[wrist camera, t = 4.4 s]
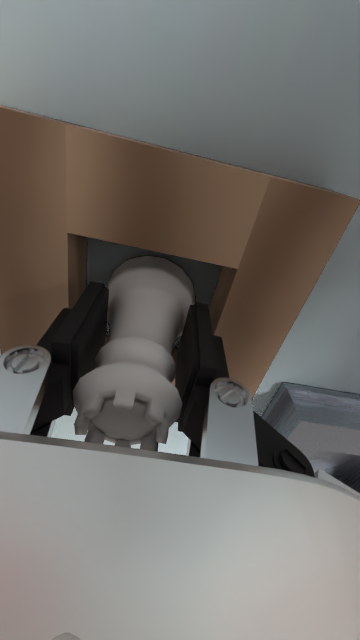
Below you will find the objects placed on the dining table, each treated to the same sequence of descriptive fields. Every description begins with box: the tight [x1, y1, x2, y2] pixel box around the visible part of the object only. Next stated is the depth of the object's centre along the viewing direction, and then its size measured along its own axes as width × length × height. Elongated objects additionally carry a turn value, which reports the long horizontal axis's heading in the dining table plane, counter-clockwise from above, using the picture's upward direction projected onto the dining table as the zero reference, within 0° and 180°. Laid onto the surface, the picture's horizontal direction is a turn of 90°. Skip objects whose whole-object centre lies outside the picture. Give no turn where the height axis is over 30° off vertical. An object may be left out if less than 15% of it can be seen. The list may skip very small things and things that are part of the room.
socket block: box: [0, 105, 360, 398], centre depth 13 cm, size 13×13×2 cm
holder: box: [261, 382, 360, 493], centre depth 21 cm, size 13×13×2 cm
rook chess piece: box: [73, 256, 195, 452], centre depth 10 cm, size 4×4×8 cm
